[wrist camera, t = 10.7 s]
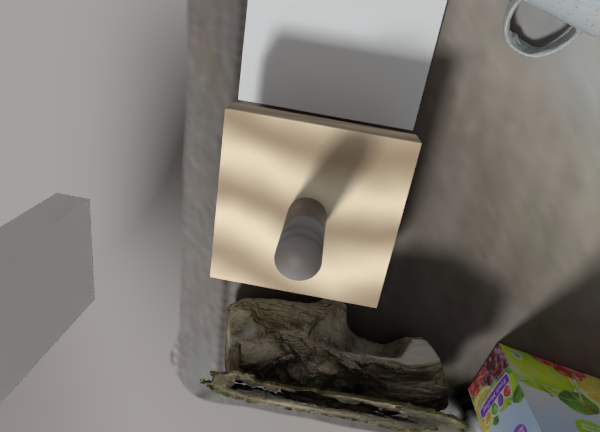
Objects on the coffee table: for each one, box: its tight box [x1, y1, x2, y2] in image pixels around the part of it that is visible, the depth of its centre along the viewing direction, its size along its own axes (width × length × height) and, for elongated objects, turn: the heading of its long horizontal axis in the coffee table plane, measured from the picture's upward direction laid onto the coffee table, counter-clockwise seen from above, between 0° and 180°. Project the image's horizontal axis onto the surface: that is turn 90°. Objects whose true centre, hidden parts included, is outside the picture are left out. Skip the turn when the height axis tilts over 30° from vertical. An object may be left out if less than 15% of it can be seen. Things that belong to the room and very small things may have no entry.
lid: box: [210, 102, 422, 308], centre depth 37 cm, size 16×16×11 cm
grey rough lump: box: [200, 298, 469, 432], centre depth 48 cm, size 28×13×15 cm
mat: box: [238, 0, 447, 131], centre depth 40 cm, size 17×17×1 cm
